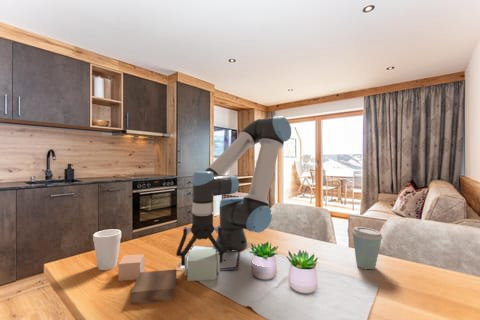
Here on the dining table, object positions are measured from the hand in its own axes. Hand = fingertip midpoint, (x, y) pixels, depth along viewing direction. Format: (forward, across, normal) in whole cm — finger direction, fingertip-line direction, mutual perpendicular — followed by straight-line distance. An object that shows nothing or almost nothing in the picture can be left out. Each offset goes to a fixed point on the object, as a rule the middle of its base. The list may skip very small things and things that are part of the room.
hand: (202, 272), depth 88 cm
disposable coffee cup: (0, -64, +6) cm, 64 cm away
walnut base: (+1, +15, +9) cm, 18 cm away
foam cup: (0, +36, -12) cm, 38 cm away
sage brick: (0, 0, 0) cm, 0 cm away
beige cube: (0, +25, -3) cm, 25 cm away
